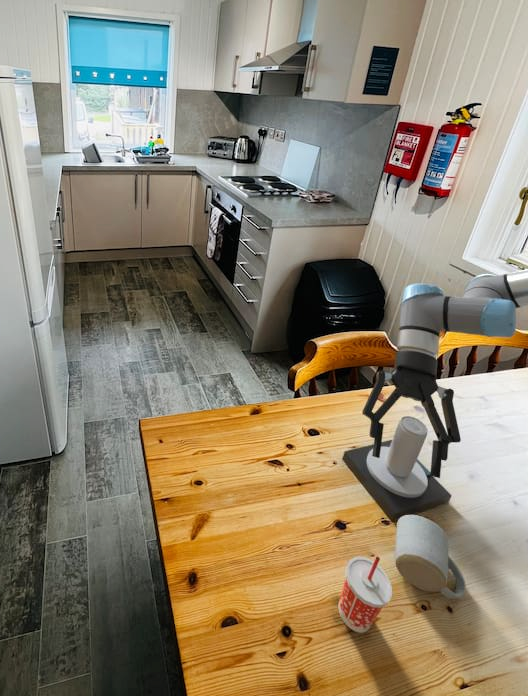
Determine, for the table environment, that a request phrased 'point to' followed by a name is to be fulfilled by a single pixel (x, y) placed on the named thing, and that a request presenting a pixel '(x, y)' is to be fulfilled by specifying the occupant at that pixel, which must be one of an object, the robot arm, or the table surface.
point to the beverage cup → (363, 593)
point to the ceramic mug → (425, 556)
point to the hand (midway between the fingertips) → (404, 466)
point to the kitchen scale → (395, 483)
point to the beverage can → (405, 446)
